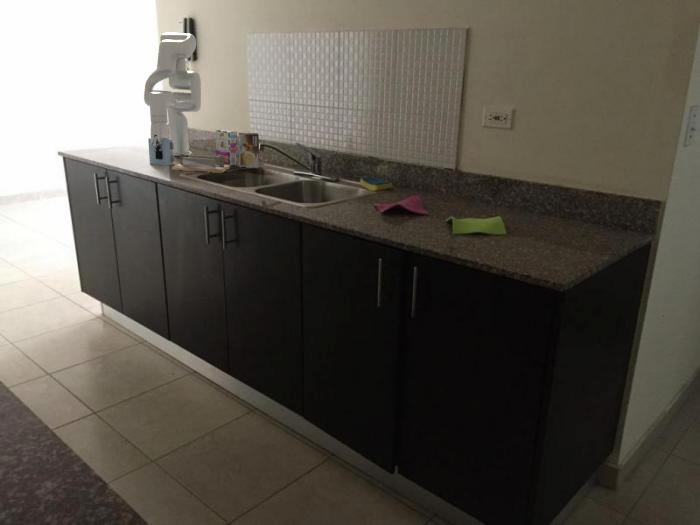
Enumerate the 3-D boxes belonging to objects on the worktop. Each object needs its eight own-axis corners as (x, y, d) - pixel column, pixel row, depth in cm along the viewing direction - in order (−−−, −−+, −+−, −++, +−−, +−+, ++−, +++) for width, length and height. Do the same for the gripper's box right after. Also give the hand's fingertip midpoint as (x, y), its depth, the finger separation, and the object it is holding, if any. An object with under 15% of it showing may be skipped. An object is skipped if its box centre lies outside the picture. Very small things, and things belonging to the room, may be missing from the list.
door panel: (153, 162, 285) (151, 137, 281) (175, 164, 284) (174, 138, 280) (149, 164, 281) (148, 138, 278) (172, 165, 281) (171, 140, 277)
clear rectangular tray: (184, 164, 284) (183, 151, 281) (230, 167, 282) (230, 154, 280) (172, 170, 269) (171, 155, 267) (221, 173, 268) (220, 158, 265)
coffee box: (257, 165, 290) (257, 132, 285) (259, 168, 285) (259, 134, 279) (238, 165, 288) (238, 132, 283) (240, 168, 282) (239, 134, 277)
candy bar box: (237, 165, 288) (237, 131, 283) (229, 166, 285) (228, 132, 279) (224, 162, 295) (223, 129, 290) (215, 163, 292) (214, 129, 287)
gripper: (158, 117, 284) (160, 155, 290) (143, 120, 269) (146, 160, 275) (173, 118, 284) (175, 156, 290) (159, 121, 268) (161, 161, 274)
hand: (161, 158), depth 282 cm, fingers closed on door panel, 4 cm apart
